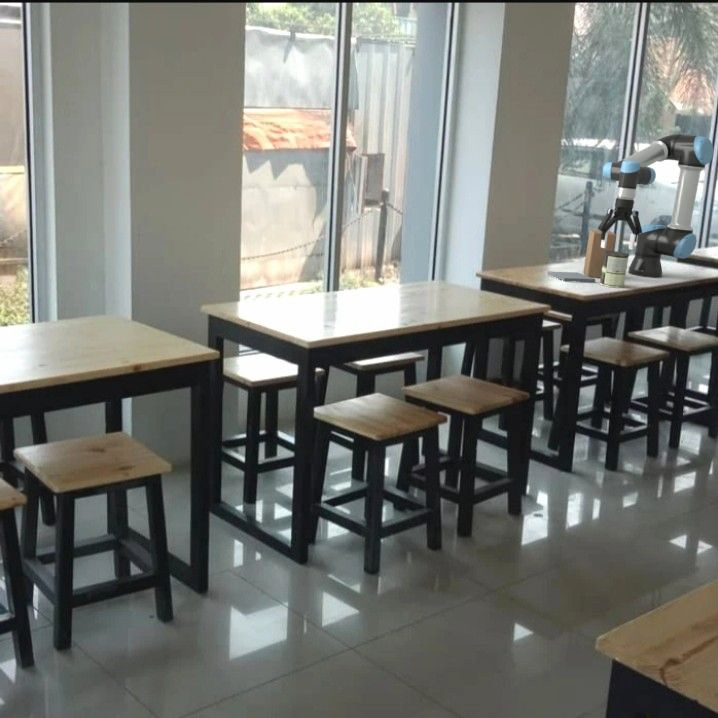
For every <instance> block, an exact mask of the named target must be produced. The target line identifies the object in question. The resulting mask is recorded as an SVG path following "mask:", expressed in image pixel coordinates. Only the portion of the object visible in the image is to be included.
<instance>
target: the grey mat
mask: <svg viewBox="0 0 718 718" xmlns="http://www.w3.org/2000/svg"><path fill="white" fill-rule="evenodd" d="M547 274H548V275H547ZM547 274H546V275H547V276H549V275H551V276H550V277H552V276H553V277H552V278H554V277H556V278H555V279H557V278H558V279H557V280H559V279H561V280H560V281H562V280H563V281H562V282H564V281H579V282H578V283H592V284H593V283H596V278H591V277H588V276H586V275H585V274H584V273H580V272H574V271H573V272H572V271H547Z"/></svg>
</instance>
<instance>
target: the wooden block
mask: <svg viewBox="0 0 718 718" xmlns="http://www.w3.org/2000/svg"><path fill="white" fill-rule="evenodd" d="M607 233H608V237H607V243H606V248H602V247H601V242H602V240H601V231H600V230H598V229H589V232H588V238H587V246H586V251H585V252H586V253H585V260H584V265H583V273H582V274H583V275H586V276H588V277H592V278H593V279H601V273H602V266H603V260H604V252H605V251H615V245H616V242H617V241H616V239H617V234H616V233H614V232H612V231H609V230H608V231H607Z"/></svg>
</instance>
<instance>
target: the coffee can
mask: <svg viewBox="0 0 718 718" xmlns="http://www.w3.org/2000/svg"><path fill="white" fill-rule="evenodd" d="M629 257H630V254H629V253H626V252H622V251H615V250H614V251H605V252H604V260H603V266H602V273H601V278H599V279H600V281H599V285H601V286H603V287H607V288H612V287H613V288H614V289H622V287H623V288H624V287H625V280H626V274H627V269H628V263H629Z"/></svg>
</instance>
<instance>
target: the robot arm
mask: <svg viewBox="0 0 718 718" xmlns="http://www.w3.org/2000/svg"><path fill="white" fill-rule="evenodd" d="M713 155H714V146H713V143H712V141H711V140H710V139H709V138H708V137H705V136H700V135H690V134H681V133H675V134H669V135H667V136H663V137H661V138H658V139H657V140H655V141H653V142H651V144H650V145H649V146H647V147H645V148H644V149H641V150H639V151H637V152H635V153H633V154H631V155H629V156H627V157H625V158H623V159H621V160H619V161H616V162H614V161H613V162H612V161H608V162H606V163H605V164H604V166H603V167H602V176H603V178H604V179H606V180H610V181H614V182H618V185H617V192H616V198H615V204H614V209H612V208H608V209H607V211H606V214H605V216H603V219H602V221H601V222H600V224H599V225H598V227H597V230H600V231H601V240H602V242H601V247H602V248H606V243H607V237H608V233H607V231H609V230H610V229H611V228H612V227H613V225H615V223H617V222H618V221H621V222H622V221H623V222H626V223H627V225H628V227H629V229H630V230H631V233H630V236H629V242H628V248H627V249H628V250H631V251H634V248H635V253H634V257H633V259H632V261H631V262H630V265H629V267H628V273H629V274H631V273H632V274H631V275H635V274H636V275H635V276H640V275H641V276H640V277H646V276H649V277H650V278H659V277H658V276H661V277H662V275H663V269H662V268H663V267H662V263H661V257H662V255H663V256H667V257H671V258H674V259H687V258H689V257H690V256H691V255H692V254H693V252H694V250H696V249H695V248H696V246H697V241H698V240H697V236H696V234H694V228H693V227H692V225H691V224H692V220H693V214H694V209H695V208H694V207H695V203H696V199H697V198H696V197H697V194H698V193H697V192H698V186H699V182H700V177H701V176H700V175H701V172H702V171H703V170H704V169H705V168H706V165H709V164H710V163H711V161H712V159H713V157H714V156H713ZM665 160H667V161H676V162H677V167H678V168H679V169H680V170H679V176H678V183H677V187H676V191H675V192H676V193H675V196H674V197H675V198H674V204H673V209H672V214H671V219H670V223H669V224H667V226H666V225H662V224H661V225H659V224H657V225H656V224H655V225H654V224H645V225H644V224H643V225H641V221H640V217H639V215H640V214H639V213H640V212H639V211H638V210H635V209H634V204H635V200H634V199H636V194H637V187H638V185H640V186H647V185H651V184H653V183H654V182H655V180H656V178H657V177H656V176H657V175H656V174H657V173H656V171H655V169H654V168H652V167H651V165H653V164H655V163H656V162H663V161H665ZM649 166H650V167H649ZM633 209H634V210H633ZM613 214H614V215H613ZM632 218H633V219H632ZM635 243H636V244H635ZM635 245H636V246H635Z"/></svg>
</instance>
